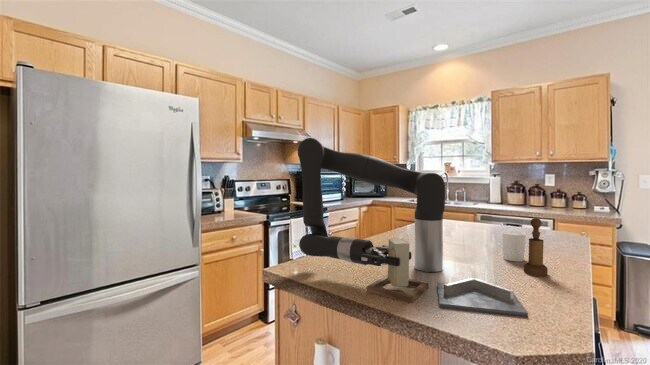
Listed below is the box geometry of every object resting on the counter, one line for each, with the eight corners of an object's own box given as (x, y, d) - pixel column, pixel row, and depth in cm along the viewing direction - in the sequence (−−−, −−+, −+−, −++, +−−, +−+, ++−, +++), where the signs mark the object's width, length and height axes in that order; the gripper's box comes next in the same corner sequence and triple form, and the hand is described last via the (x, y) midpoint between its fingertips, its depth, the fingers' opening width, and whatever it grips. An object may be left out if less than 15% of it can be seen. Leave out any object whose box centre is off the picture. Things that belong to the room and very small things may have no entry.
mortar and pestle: (551, 277, 100) (552, 220, 100) (528, 275, 101) (529, 219, 101) (541, 270, 107) (542, 217, 106) (520, 269, 108) (520, 216, 107)
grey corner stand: (437, 285, 94) (437, 273, 94) (509, 292, 88) (510, 279, 88) (439, 307, 78) (439, 293, 78) (527, 317, 73) (528, 302, 73)
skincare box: (387, 279, 93) (387, 238, 93) (402, 278, 94) (402, 237, 93) (394, 287, 87) (393, 243, 87) (409, 286, 88) (409, 242, 87)
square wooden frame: (387, 279, 100) (387, 274, 100) (428, 288, 92) (428, 282, 92) (366, 291, 89) (366, 286, 89) (410, 302, 81) (410, 297, 81)
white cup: (525, 258, 122) (526, 232, 122) (525, 263, 115) (525, 235, 115) (502, 255, 126) (502, 230, 126) (500, 260, 120) (501, 233, 119)
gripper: (342, 242, 93) (394, 250, 83) (366, 234, 104) (415, 240, 94) (342, 268, 93) (394, 279, 83) (366, 257, 105) (415, 266, 95)
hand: (405, 258), depth 89 cm, fingers closed on skincare box, 7 cm apart
